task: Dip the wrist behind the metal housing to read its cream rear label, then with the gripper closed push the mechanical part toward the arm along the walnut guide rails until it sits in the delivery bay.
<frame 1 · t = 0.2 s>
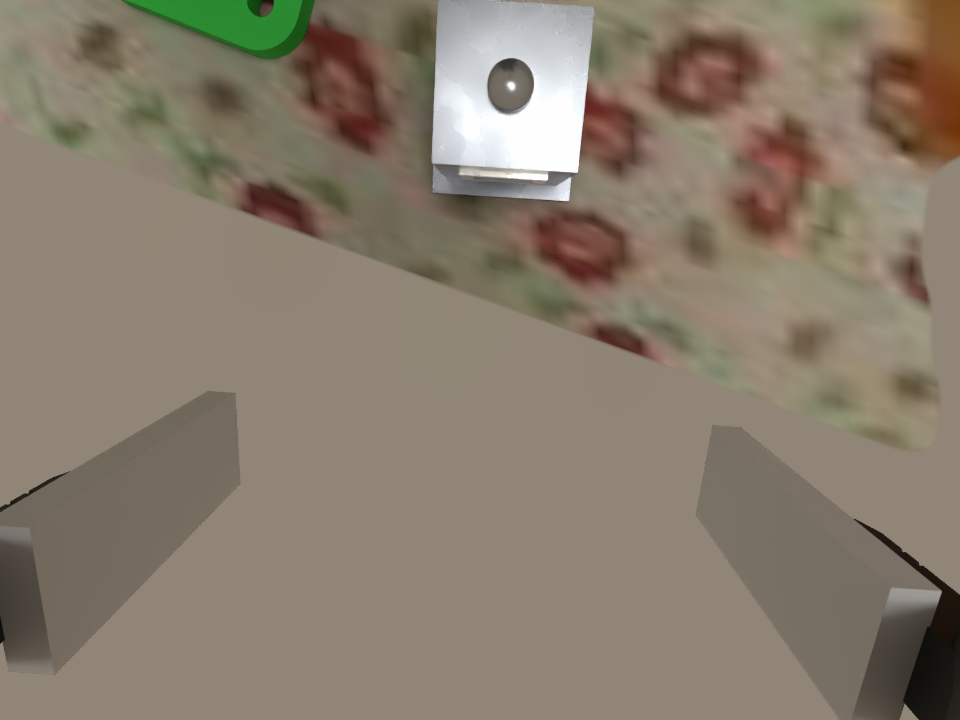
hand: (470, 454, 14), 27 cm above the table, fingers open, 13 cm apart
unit: (505, 124, 38), on the table
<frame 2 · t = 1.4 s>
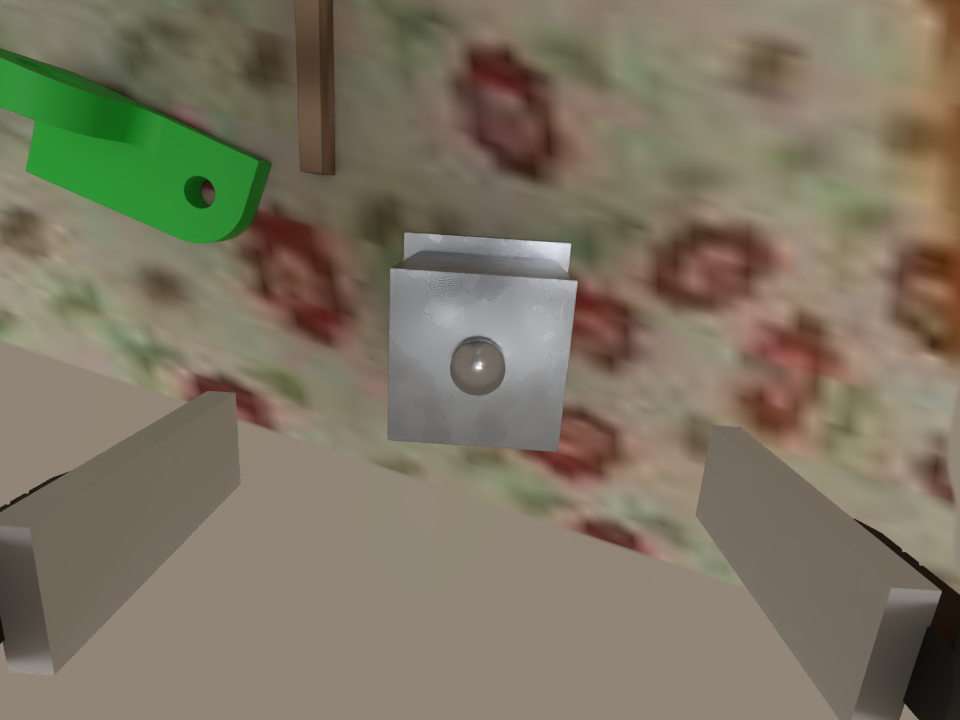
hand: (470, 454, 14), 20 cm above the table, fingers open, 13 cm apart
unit: (482, 317, 33), on the table
mechanical part: (164, 169, 32), on the table
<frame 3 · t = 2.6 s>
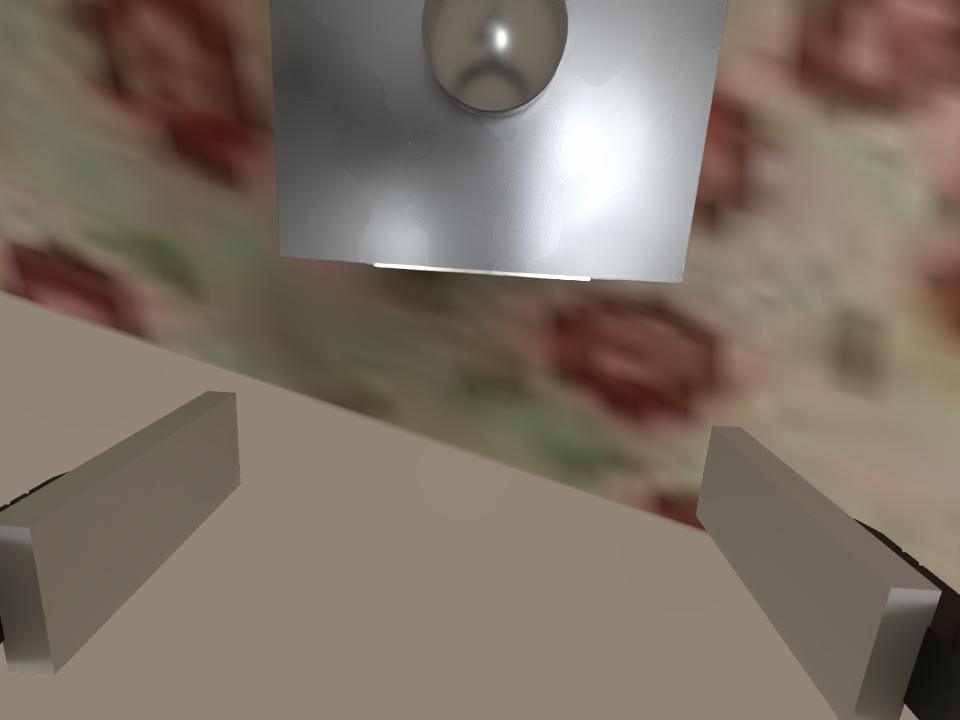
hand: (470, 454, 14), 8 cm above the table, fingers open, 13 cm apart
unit: (493, 133, 19), on the table
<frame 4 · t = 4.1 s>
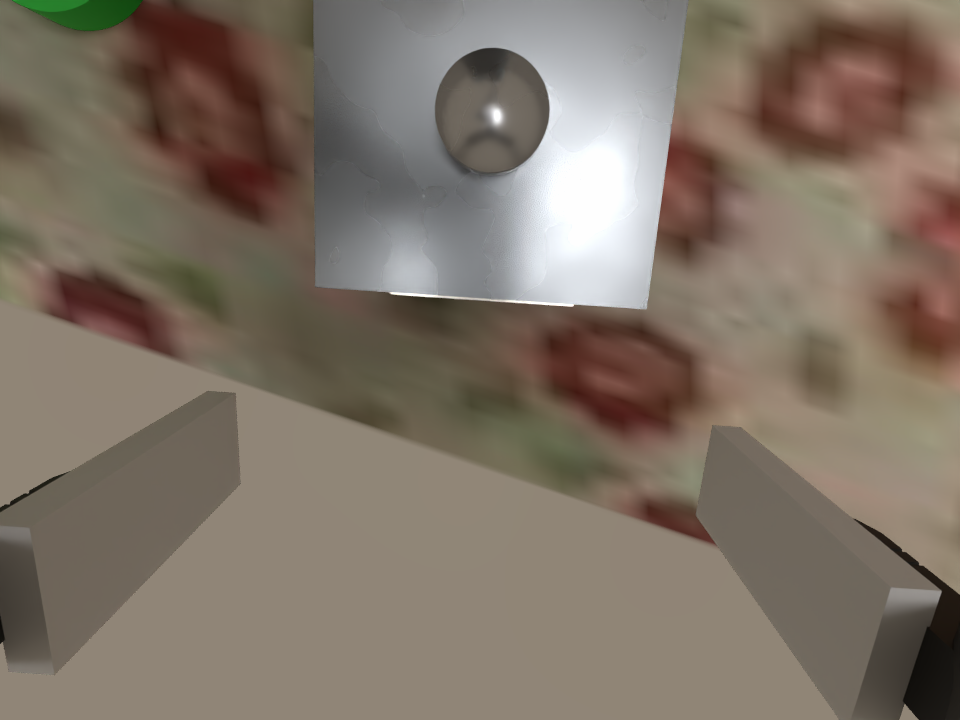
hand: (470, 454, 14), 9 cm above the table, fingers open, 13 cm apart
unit: (491, 175, 22), on the table
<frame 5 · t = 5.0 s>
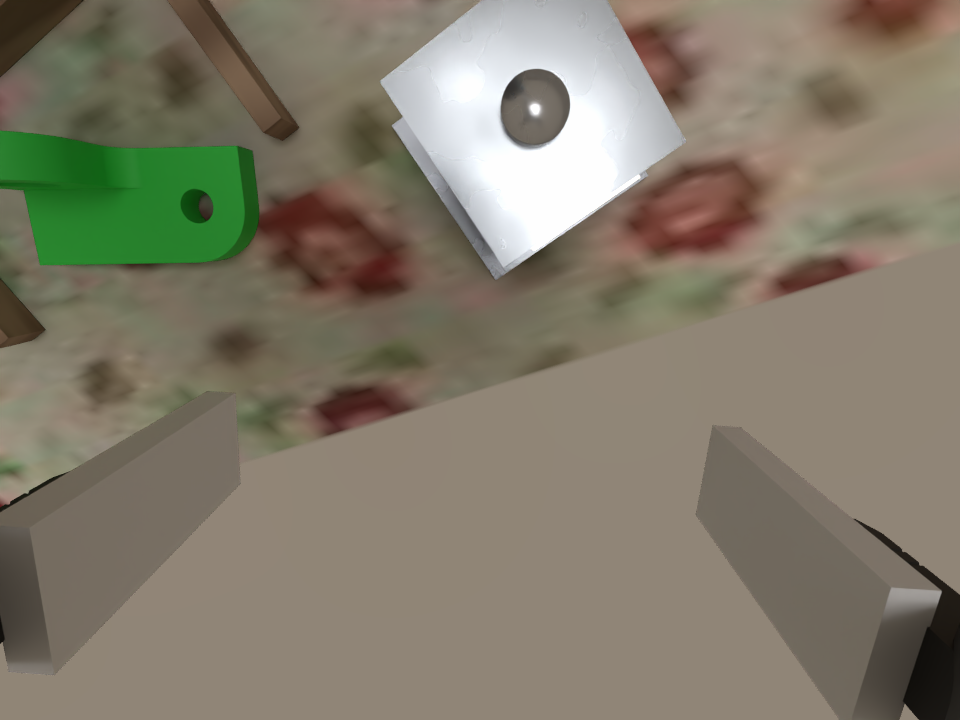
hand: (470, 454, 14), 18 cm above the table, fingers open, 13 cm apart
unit: (520, 152, 29), on the table
mechanical part: (160, 208, 31), on the table
bay: (7, 52, 28), on the table
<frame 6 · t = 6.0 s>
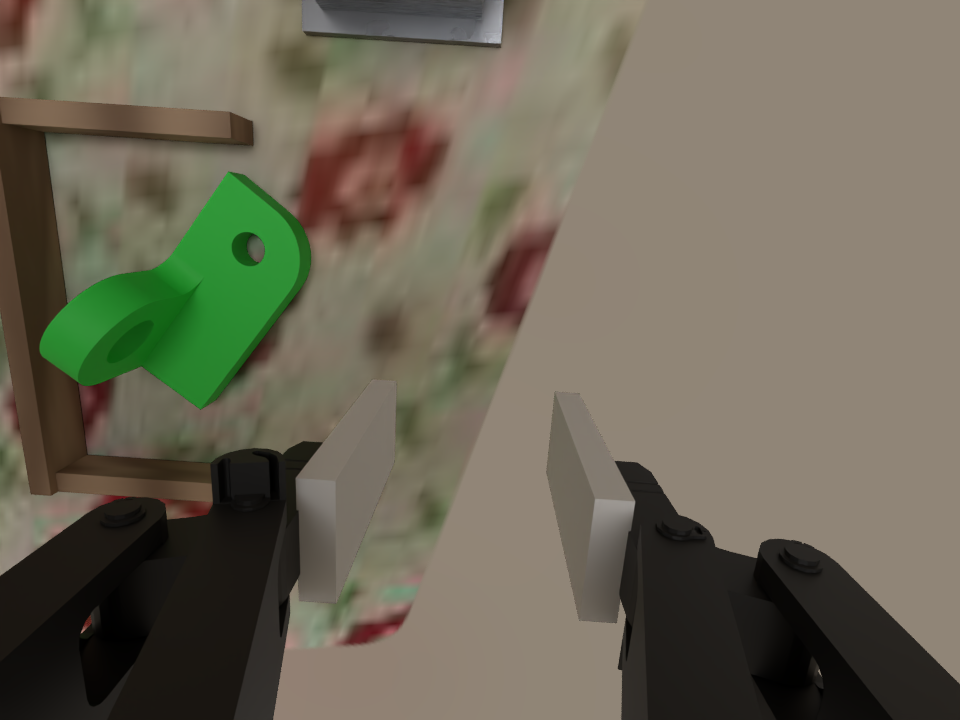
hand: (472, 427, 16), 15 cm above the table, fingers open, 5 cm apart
mechanical part: (232, 292, 31), on the table
bay: (57, 305, 31), on the table
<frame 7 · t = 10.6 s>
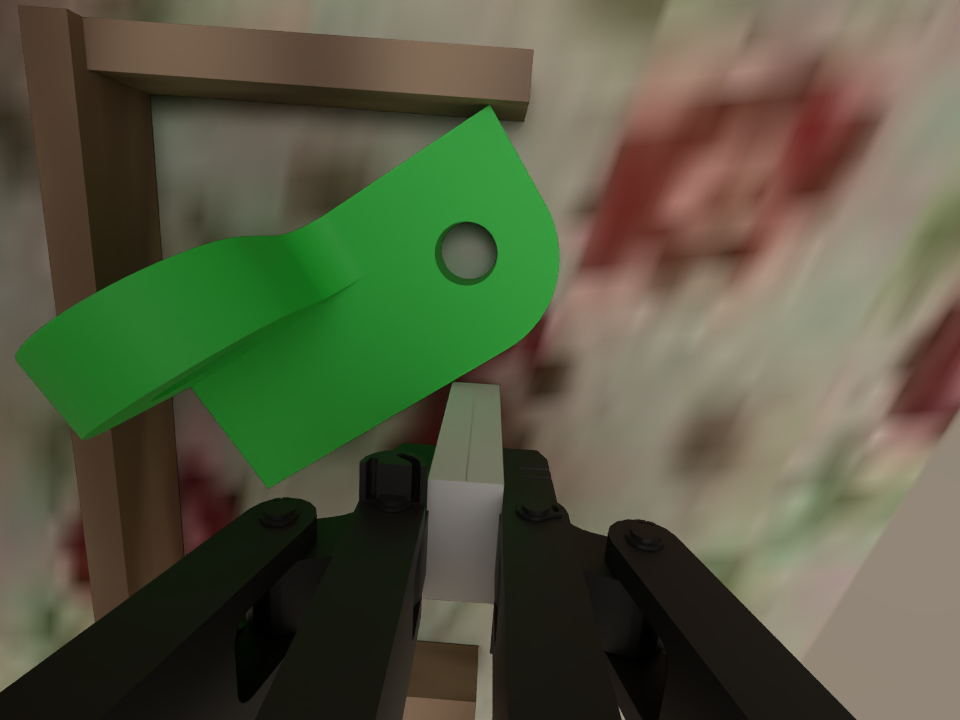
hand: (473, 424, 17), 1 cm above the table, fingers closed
mechanical part: (383, 304, 18), on the table, touching gripper
bay: (154, 390, 18), on the table
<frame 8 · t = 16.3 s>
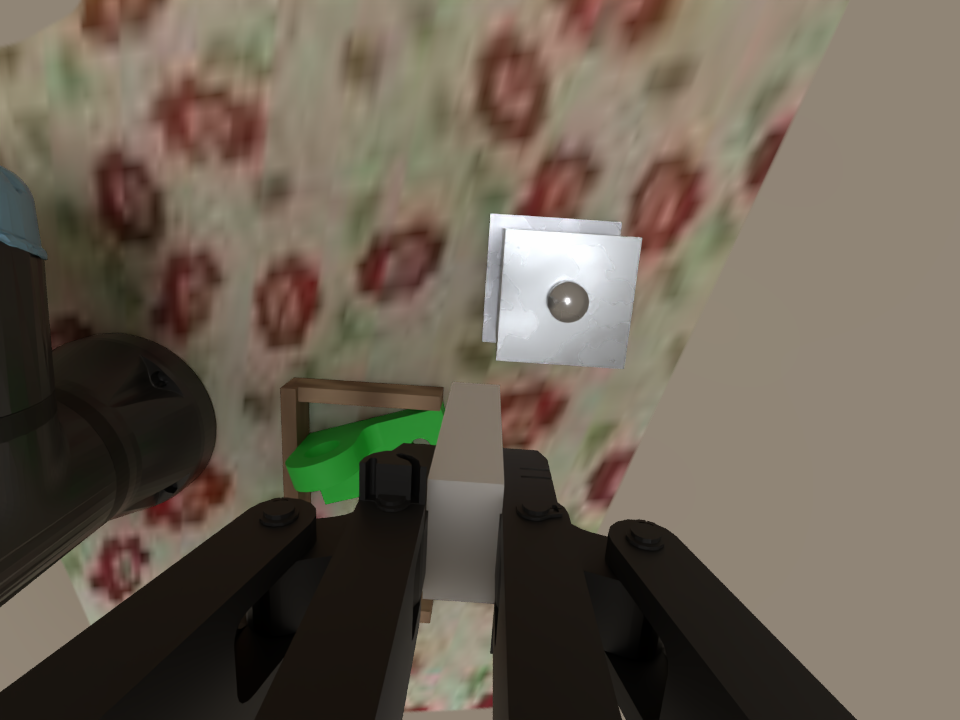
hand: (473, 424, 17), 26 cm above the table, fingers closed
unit: (548, 282, 42), on the table
mechanical part: (386, 446, 46), on the table
bay: (303, 492, 47), on the table
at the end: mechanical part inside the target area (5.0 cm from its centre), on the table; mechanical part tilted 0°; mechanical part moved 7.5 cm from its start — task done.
